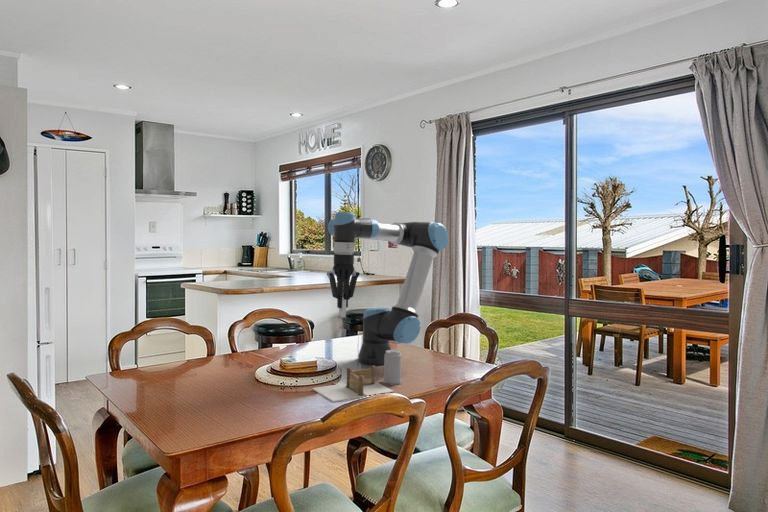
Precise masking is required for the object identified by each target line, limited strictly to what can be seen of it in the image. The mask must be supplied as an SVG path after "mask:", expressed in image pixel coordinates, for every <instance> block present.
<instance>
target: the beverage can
mask: <svg viewBox="0 0 768 512" xmlns="http://www.w3.org/2000/svg"><path fill="white" fill-rule="evenodd" d="M401 380H402V354H401V351H400V350H397V349H391V350H387V351H386V353H385V355H384V365H383V382H384V383H385V384H387V385H392V386H394V385H398V384H400V383H401Z"/></svg>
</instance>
